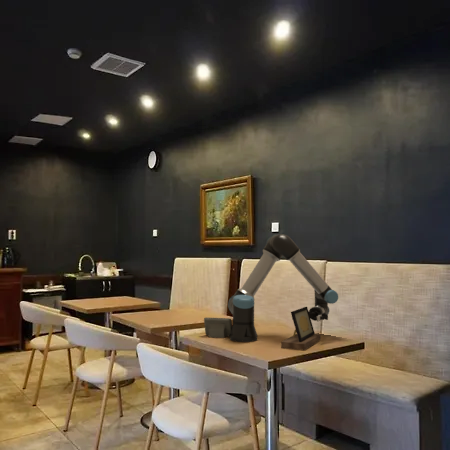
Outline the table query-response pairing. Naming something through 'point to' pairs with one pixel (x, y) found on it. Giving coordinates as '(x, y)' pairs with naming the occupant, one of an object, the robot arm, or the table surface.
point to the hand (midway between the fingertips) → (305, 318)
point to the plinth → (303, 345)
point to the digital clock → (218, 327)
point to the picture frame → (302, 324)
